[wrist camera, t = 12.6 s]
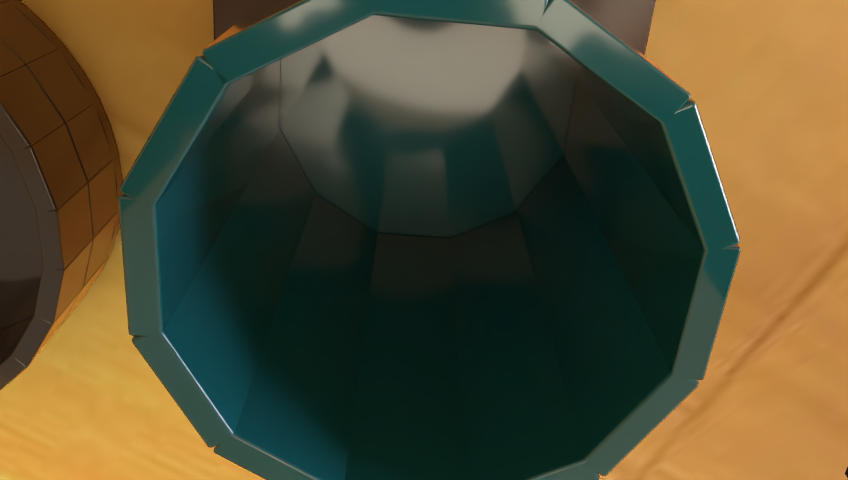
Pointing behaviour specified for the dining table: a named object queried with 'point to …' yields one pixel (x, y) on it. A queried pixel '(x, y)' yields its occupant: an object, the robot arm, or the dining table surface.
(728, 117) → the dining table surface
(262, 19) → the pot
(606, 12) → the trivet
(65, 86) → the pan
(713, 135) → the dining table surface
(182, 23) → the dining table surface
